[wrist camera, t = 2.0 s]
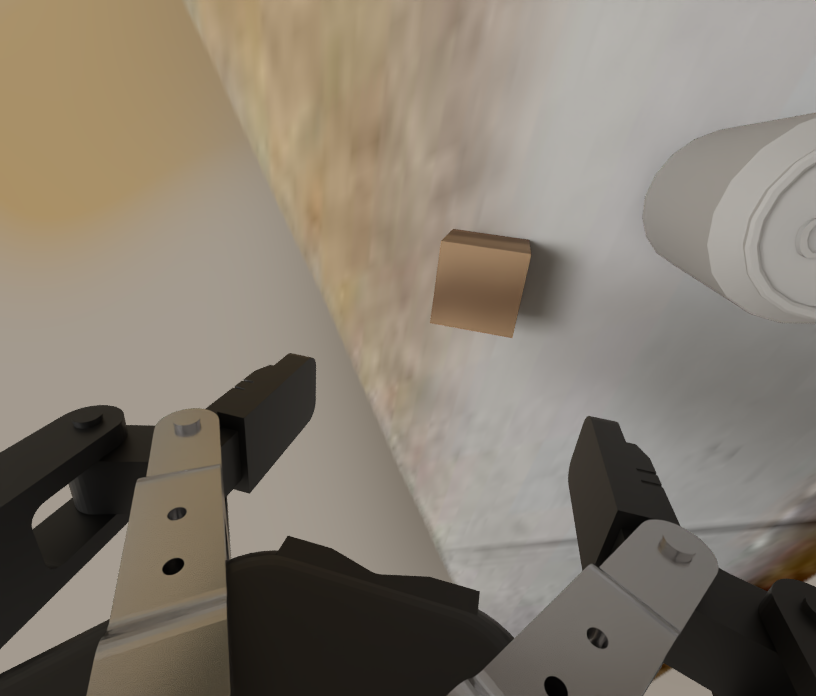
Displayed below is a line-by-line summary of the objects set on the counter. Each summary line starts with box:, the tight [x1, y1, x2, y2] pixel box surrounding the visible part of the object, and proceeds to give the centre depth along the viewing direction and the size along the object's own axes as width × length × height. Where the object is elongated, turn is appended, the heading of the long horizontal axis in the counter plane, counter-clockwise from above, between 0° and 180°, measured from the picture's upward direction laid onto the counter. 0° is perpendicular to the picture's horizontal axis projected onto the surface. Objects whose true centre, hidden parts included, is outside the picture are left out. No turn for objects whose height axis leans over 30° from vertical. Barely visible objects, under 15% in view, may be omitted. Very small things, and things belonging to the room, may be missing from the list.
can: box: [642, 113, 816, 323], centre depth 19 cm, size 8×8×12 cm
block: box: [430, 229, 531, 338], centre depth 26 cm, size 5×5×5 cm
